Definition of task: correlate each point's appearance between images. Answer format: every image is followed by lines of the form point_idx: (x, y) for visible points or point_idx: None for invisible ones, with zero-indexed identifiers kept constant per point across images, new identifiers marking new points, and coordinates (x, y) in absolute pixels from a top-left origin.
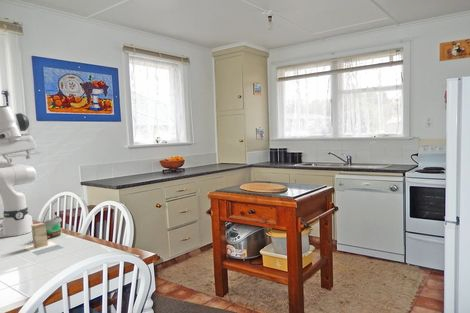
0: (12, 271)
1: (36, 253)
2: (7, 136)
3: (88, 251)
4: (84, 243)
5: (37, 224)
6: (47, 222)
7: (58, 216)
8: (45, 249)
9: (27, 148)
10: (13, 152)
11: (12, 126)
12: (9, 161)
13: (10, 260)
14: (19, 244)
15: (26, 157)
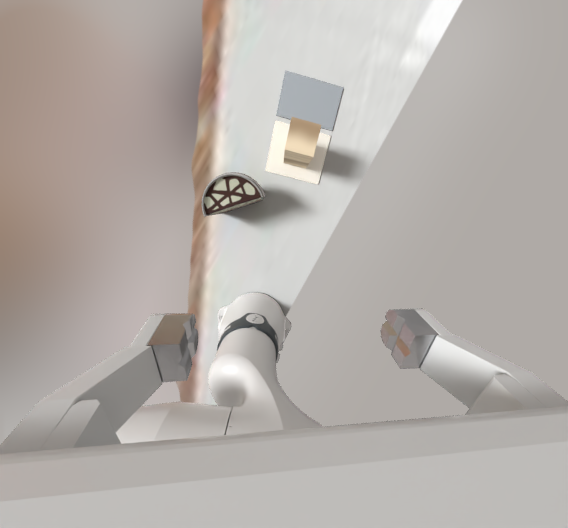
0: (422, 42)
1: (335, 105)
2: None
3: None
4: (242, 47)
5: (303, 141)
6: (252, 181)
7: (202, 204)
8: (309, 112)
9: (20, 491)
10: (424, 422)
11: None
12: (422, 312)
13: (379, 127)
14: (305, 225)
15: (189, 352)
